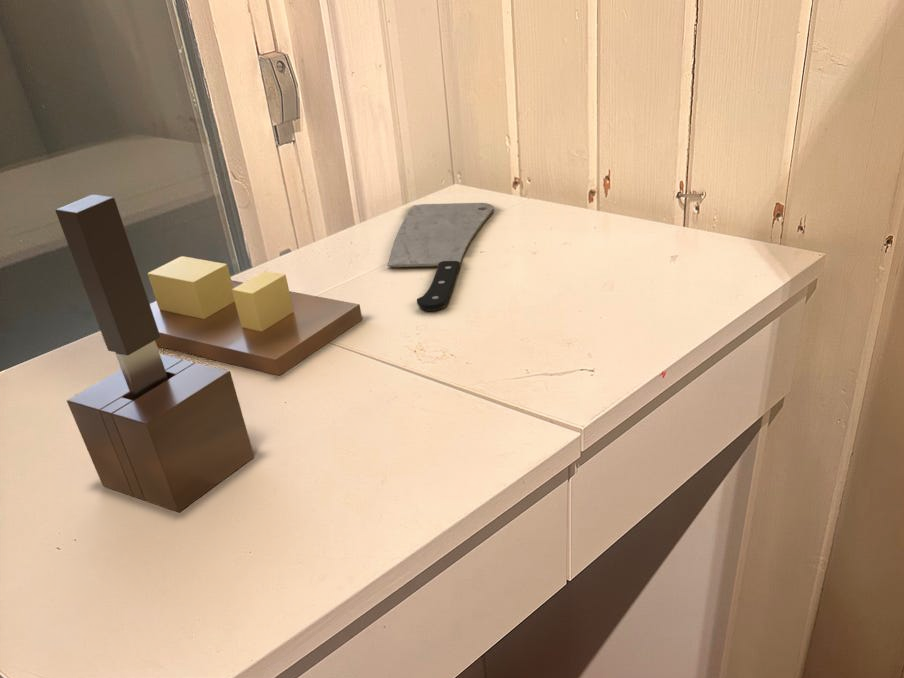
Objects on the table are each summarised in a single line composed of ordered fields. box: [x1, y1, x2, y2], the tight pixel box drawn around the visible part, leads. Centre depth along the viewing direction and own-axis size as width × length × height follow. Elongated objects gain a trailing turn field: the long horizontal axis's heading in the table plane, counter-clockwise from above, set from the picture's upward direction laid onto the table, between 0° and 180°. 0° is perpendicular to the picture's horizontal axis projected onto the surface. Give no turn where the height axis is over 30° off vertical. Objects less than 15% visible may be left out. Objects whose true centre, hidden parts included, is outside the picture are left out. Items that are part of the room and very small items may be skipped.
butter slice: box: [232, 270, 294, 332], centre depth 82 cm, size 2×4×4 cm, turn 149°
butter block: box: [147, 255, 235, 319], centre depth 86 cm, size 6×4×4 cm
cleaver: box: [386, 202, 495, 311], centre depth 96 cm, size 29×1×10 cm
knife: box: [54, 193, 168, 401], centre depth 62 cm, size 2×3×19 cm, turn 149°
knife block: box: [66, 353, 255, 513], centre depth 66 cm, size 8×8×7 cm
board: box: [149, 279, 363, 376], centre depth 86 cm, size 20×12×2 cm, turn 59°
